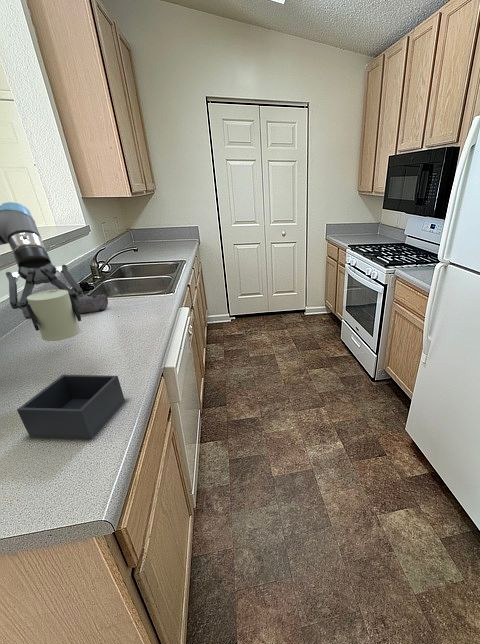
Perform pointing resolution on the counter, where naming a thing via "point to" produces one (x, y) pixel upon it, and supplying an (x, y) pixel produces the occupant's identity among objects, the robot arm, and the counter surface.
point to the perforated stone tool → (93, 303)
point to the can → (54, 314)
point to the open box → (72, 407)
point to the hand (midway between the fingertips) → (58, 323)
